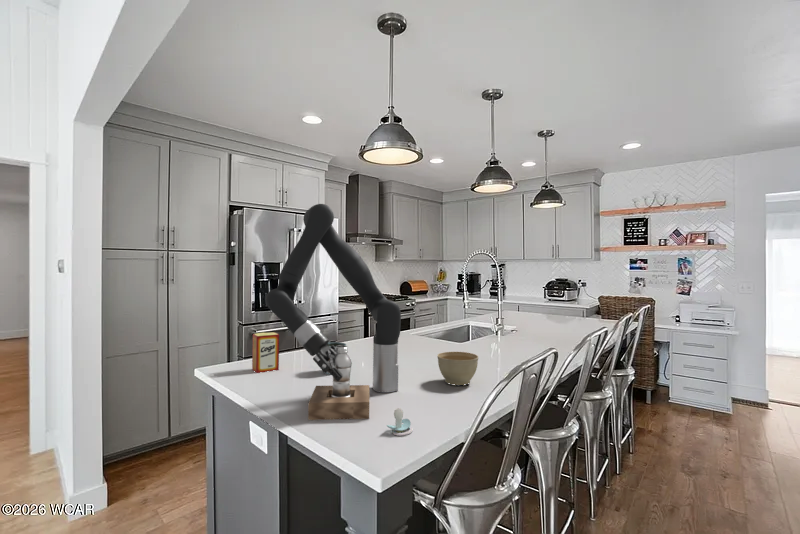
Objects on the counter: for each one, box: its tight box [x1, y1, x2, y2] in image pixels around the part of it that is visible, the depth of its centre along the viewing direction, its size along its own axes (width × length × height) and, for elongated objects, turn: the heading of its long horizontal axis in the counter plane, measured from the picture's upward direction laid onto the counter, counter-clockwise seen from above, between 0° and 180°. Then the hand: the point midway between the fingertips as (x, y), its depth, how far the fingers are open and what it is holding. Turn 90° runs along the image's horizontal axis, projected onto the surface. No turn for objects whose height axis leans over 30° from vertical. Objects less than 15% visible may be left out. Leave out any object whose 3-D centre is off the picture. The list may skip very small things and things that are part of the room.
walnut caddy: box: [307, 384, 370, 421], centre depth 125 cm, size 18×17×5 cm
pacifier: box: [386, 407, 414, 437], centre depth 108 cm, size 7×6×6 cm
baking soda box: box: [251, 331, 280, 374], centre depth 171 cm, size 10×6×16 cm
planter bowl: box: [437, 351, 479, 386], centre depth 155 cm, size 16×16×11 cm
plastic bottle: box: [331, 345, 353, 397], centre depth 125 cm, size 6×7×20 cm
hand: (344, 375), depth 125 cm, fingers open, 8 cm apart
